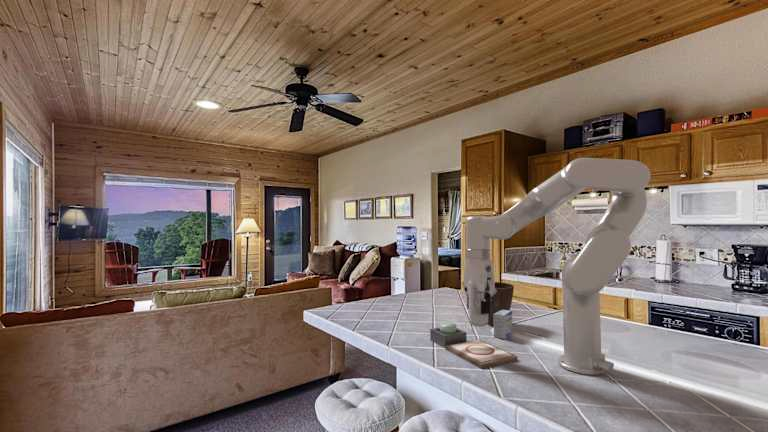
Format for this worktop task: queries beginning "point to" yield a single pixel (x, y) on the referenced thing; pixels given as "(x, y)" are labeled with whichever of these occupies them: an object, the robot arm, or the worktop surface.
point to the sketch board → (481, 353)
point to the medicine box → (502, 324)
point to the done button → (447, 328)
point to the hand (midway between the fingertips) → (478, 310)
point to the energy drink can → (476, 306)
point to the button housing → (447, 337)
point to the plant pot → (500, 299)
